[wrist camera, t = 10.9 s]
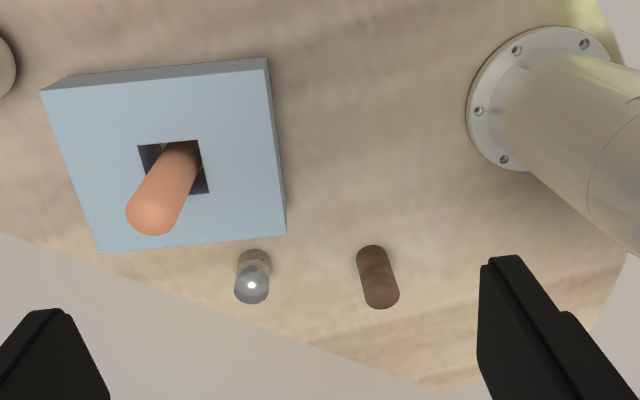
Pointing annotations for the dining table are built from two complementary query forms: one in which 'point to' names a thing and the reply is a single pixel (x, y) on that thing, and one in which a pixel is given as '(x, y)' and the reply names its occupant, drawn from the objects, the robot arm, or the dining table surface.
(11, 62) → the plastic bottle
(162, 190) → the long pin
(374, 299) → the mid pin
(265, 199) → the hole block
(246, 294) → the short pin
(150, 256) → the dining table surface
